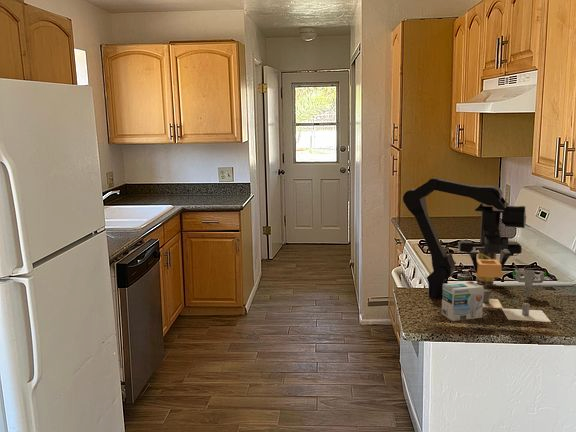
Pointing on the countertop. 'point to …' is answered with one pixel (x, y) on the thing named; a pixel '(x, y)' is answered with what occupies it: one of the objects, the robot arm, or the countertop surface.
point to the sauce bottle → (486, 256)
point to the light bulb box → (462, 300)
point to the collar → (488, 268)
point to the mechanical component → (528, 279)
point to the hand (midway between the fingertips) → (487, 272)
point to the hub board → (528, 318)
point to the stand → (490, 301)
